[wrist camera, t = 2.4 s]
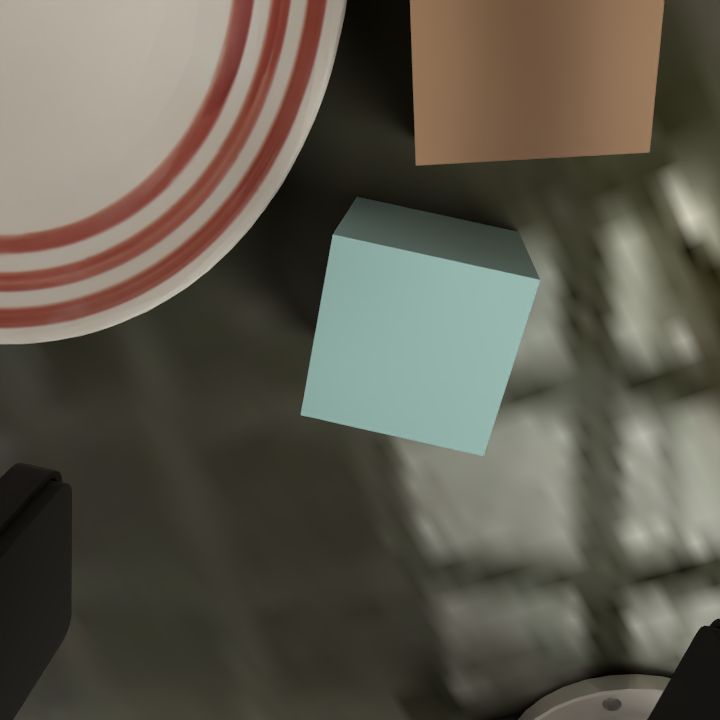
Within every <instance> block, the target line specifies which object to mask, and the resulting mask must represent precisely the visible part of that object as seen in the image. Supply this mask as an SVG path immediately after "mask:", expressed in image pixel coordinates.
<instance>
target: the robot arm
mask: <svg viewBox="0 0 720 720" xmlns="http://www.w3.org/2000/svg"><path fill="white" fill-rule="evenodd" d="M71 570H72V491H71V487H70V485H69V484H66V483H62V477H61V475H60V473H59V472H58V471H55V470H50V469H46V468H41V467H37V466H32V465H28V464H23V463H18V464H15V465H14V466H13V467H11V468H10V469H9V470H8V471H7V472H6V473H5V474H4V475H3V476H2V477H1V478H0V720H13V719H14V717H15V716H16V714H17V713H18V711H19V709H20V708H21V706H22V705H23V703H24V702H25V700H26V698H27V697H28V695H29V694H30V692H31V690H32V689H33V687H34V686H35V684H36V682H37V681H38V679H39V678H40V676H41V675H42V673H43V671H44V670H45V668H46V667H47V665H48V663H49V662H50V660H51V659H52V657H53V656H54V654H55V652H56V651H57V649H58V648H59V646H60V644H61V643H62V641H63V639H64V637H65V635H66V633H67V631H68V628H69V625H70V620H71ZM518 720H720V619H717V620H715V621H713V622H712V624H711V625H710V626H703V627H701V628H700V629H699V631H698V632H697V634H696V635H695V637H694V639H693V641H692V642H691V644H690V646H689V648H688V649H687V651H686V653H685V654H684V656H683V658H682V660H681V661H680V663H679V665H678V667H677V668H676V670H675V672H674V674H673V675H672V677H671V678H667V677H663V676H652V675H641V674H628V675H609V676H603V677H598V678H592V679H587V680H583V681H580V682H577V683H574V684H571V685H568V686H565V687H562V688H560V689H558V690H557V691H555V692H553V693H551V694H549V695H547V696H545V697H543V698H541V699H540V700H539V701H537V702H536V703H535V704H534V705H532V706H531V707H530V708H528V709H527V710H526V711H525V712H524V713H523V714H522V715H521V716H520V718H519V719H518Z"/></svg>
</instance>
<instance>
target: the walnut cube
mask: <svg viewBox="0 0 720 720" xmlns="http://www.w3.org/2000/svg"><path fill="white" fill-rule="evenodd" d="M663 9H664V0H410V17H411V45H412V73H413V101H414V129H415V157H416V166H418V165H435V164H453V163H471V162H488V161H506V160H523V159H541V158H559V157H576V156H594V155H611V154H629V153H647V152H650V142H651V132H652V122H653V112H654V101H655V91H656V81H657V71H658V60H659V50H660V40H661V30H662V19H663Z"/></svg>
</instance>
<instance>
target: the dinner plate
mask: <svg viewBox="0 0 720 720" xmlns="http://www.w3.org/2000/svg"><path fill="white" fill-rule="evenodd" d="M346 4H347V0H0V344H30V343H40V342H48V341H56V340H61V339H66V338H72V337H77V336H83V335H86V334H90V333H93V332H97V331H100V330H103V329H106V328H109V327H112V326H114V325H117V324H119V323H122V322H124V321H126V320H129V319H131V318H133V317H135V316H138V315H140V314H142V313H145V312H147V311H149V310H151V309H152V308H154V307H156V306H158V305H159V304H161V303H163V302H164V301H166V300H168V299H170V298H171V297H173V296H174V295H176V294H178V293H179V292H181V291H182V290H184V289H185V288H187V287H188V286H190V285H191V284H192V283H193V282H195V281H196V280H197V279H199V278H200V277H201V276H202V275H204V274H205V273H206V272H208V271H209V270H210V269H211V268H212V267H213V266H214V265H215V264H216V263H217V262H219V261H220V260H221V259H222V258H223V257H224V256H225V255H226V254H227V253H228V252H229V251H230V250H231V249H232V248H233V247H234V246H235V245H236V244H237V243H238V242H239V240H240V239H241V238H242V237H243V236H244V235H245V234H246V233H247V232H248V231H249V229H250V228H251V227H252V226H253V224H254V223H255V222H256V220H257V219H258V218H259V216H260V215H261V214H262V212H263V211H264V210H265V209H266V207H267V206H268V204H269V202H270V201H271V200H272V198H273V197H274V196H275V194H276V193H277V191H278V190H279V188H280V187H281V185H282V184H283V182H284V180H285V178H286V177H287V175H288V173H289V171H290V170H291V168H292V166H293V164H294V162H295V160H296V158H297V156H298V154H299V152H300V150H301V149H302V147H303V145H304V142H305V140H306V138H307V136H308V134H309V131H310V129H311V127H312V125H313V123H314V121H315V118H316V115H317V113H318V110H319V108H320V105H321V103H322V100H323V97H324V94H325V91H326V88H327V85H328V82H329V78H330V75H331V72H332V68H333V64H334V61H335V56H336V52H337V48H338V43H339V39H340V35H341V30H342V26H343V21H344V17H345V11H346Z"/></svg>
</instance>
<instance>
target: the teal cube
mask: <svg viewBox="0 0 720 720" xmlns="http://www.w3.org/2000/svg"><path fill="white" fill-rule="evenodd" d="M539 282H540V278H539V276H538V274H537V272H536V270H535V267H534V265H533V263H532V261H531V258H530V256H529V254H528V252H527V250H526V247H525V245H524V243H523V241H522V238H521V236H520V234H519V232H517V231H512V230H508V229H503V228H499V227H494V226H489V225H485V224H480V223H476V222H471V221H467V220H462V219H457V218H453V217H448V216H444V215H439V214H434V213H430V212H425V211H421V210H416V209H411V208H407V207H402V206H398V205H393V204H388V203H384V202H379V201H375V200H370V199H366V198H361V197H356V199H355V200H354V202H353V204H352V205H351V207H350V208H349V210H348V211H347V213H346V214H345V216H344V218H343V219H342V221H341V222H340V224H339V225H338V227H337V229H336V230H335V232H334V233H333V236H332V241H331V247H330V253H329V258H328V264H327V269H326V275H325V281H324V286H323V292H322V298H321V303H320V309H319V315H318V320H317V326H316V331H315V337H314V343H313V348H312V354H311V360H310V365H309V371H308V377H307V382H306V388H305V393H304V399H303V405H302V410H301V415H303V416H307V417H312V418H316V419H321V420H325V421H330V422H334V423H338V424H343V425H347V426H352V427H356V428H361V429H365V430H369V431H374V432H378V433H383V434H387V435H391V436H396V437H400V438H405V439H409V440H414V441H418V442H422V443H427V444H431V445H436V446H440V447H445V448H449V449H453V450H458V451H462V452H467V453H471V454H476V455H480V456H484V454H485V450H486V447H487V444H488V441H489V438H490V435H491V432H492V429H493V425H494V422H495V419H496V416H497V413H498V410H499V407H500V404H501V401H502V397H503V394H504V391H505V388H506V385H507V382H508V379H509V376H510V372H511V369H512V366H513V363H514V360H515V357H516V354H517V351H518V347H519V344H520V341H521V338H522V335H523V332H524V329H525V326H526V322H527V319H528V316H529V313H530V310H531V307H532V304H533V301H534V298H535V294H536V291H537V288H538V285H539Z"/></svg>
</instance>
